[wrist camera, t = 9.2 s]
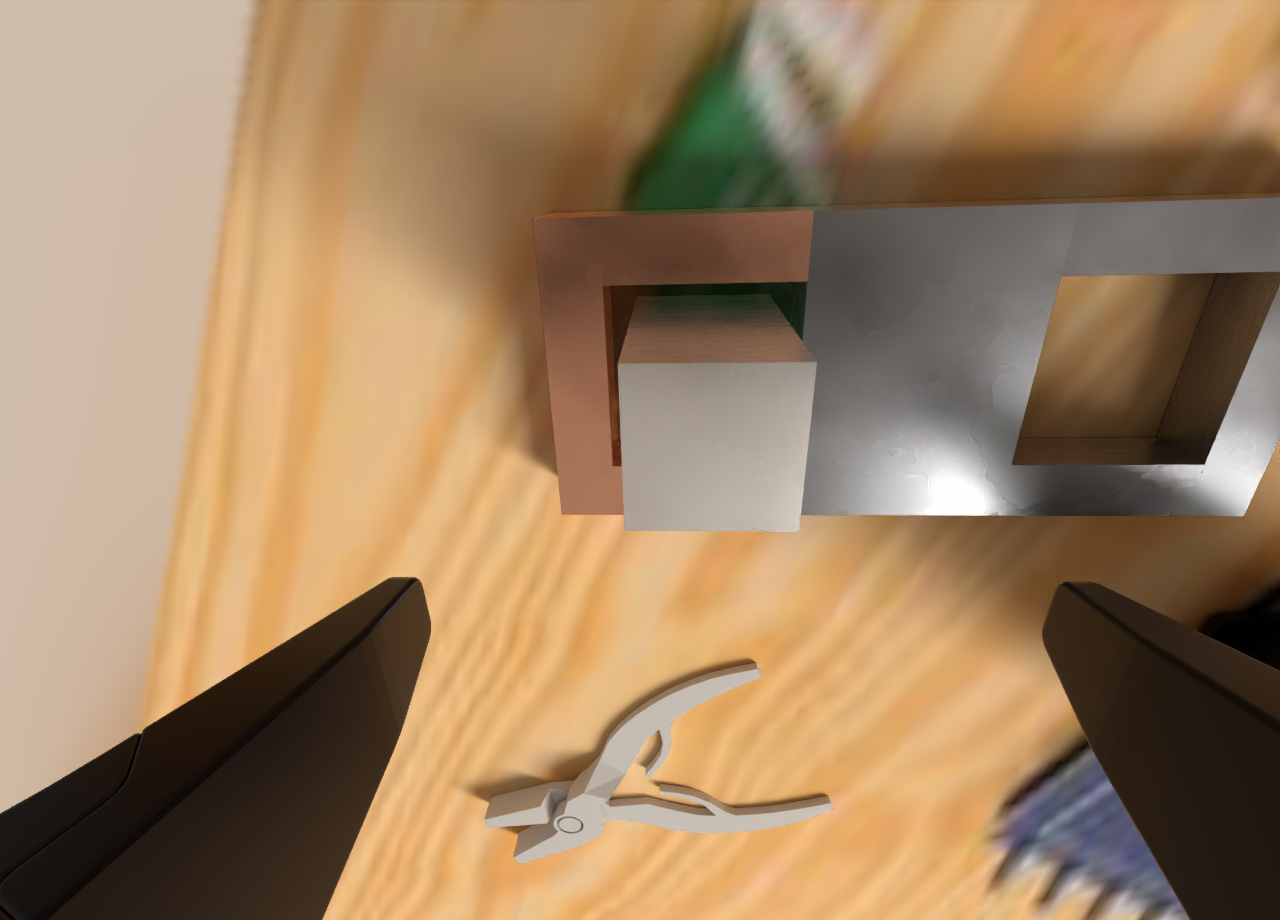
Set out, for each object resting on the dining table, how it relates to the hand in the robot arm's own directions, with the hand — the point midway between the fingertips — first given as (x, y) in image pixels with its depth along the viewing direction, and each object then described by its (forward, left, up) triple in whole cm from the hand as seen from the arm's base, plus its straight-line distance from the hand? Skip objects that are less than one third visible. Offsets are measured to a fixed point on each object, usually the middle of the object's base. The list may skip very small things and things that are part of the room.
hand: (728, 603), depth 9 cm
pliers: (+2, +20, -12) cm, 24 cm away
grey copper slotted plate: (-6, 0, -12) cm, 13 cm away
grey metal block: (0, 0, -12) cm, 12 cm away
